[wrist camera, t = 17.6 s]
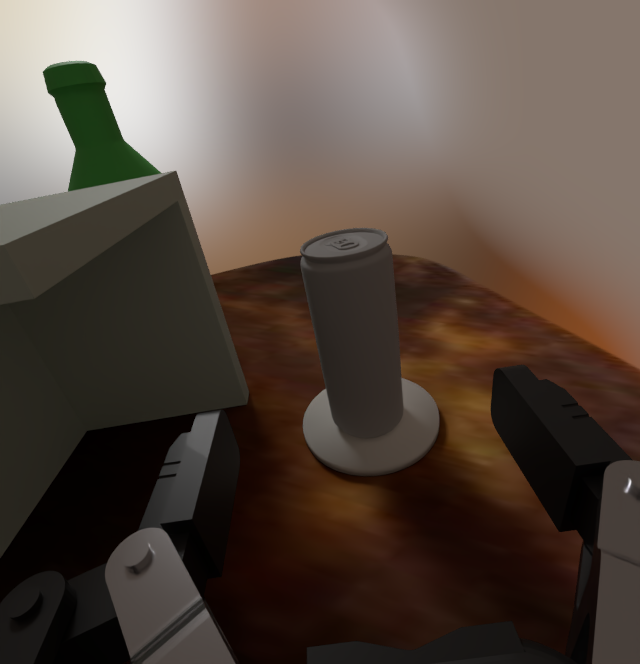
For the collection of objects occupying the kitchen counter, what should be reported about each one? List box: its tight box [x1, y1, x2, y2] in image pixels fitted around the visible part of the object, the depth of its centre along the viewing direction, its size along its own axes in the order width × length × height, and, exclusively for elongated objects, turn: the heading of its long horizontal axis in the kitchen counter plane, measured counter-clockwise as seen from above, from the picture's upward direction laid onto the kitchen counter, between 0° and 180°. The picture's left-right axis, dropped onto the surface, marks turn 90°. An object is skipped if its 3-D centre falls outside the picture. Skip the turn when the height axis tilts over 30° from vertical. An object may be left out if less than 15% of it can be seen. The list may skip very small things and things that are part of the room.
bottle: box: [43, 61, 161, 192], centre depth 36 cm, size 9×9×25 cm
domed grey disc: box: [303, 378, 439, 476], centre depth 26 cm, size 9×9×1 cm
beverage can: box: [300, 228, 404, 438], centre depth 23 cm, size 5×5×12 cm
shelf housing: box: [0, 171, 249, 558], centre depth 21 cm, size 16×14×17 cm
